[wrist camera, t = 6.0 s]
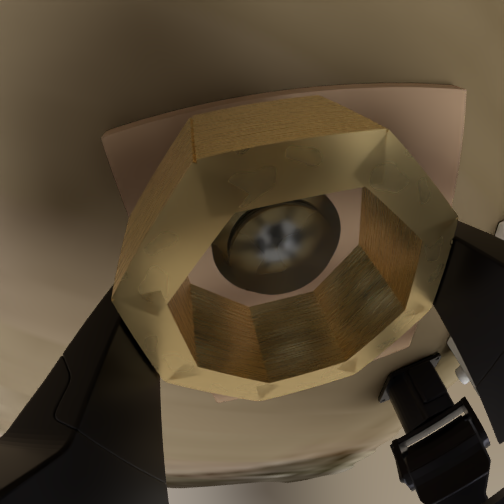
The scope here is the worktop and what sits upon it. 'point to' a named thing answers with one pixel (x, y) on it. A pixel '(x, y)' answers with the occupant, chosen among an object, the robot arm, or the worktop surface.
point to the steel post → (278, 245)
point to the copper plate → (346, 202)
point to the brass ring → (269, 193)
